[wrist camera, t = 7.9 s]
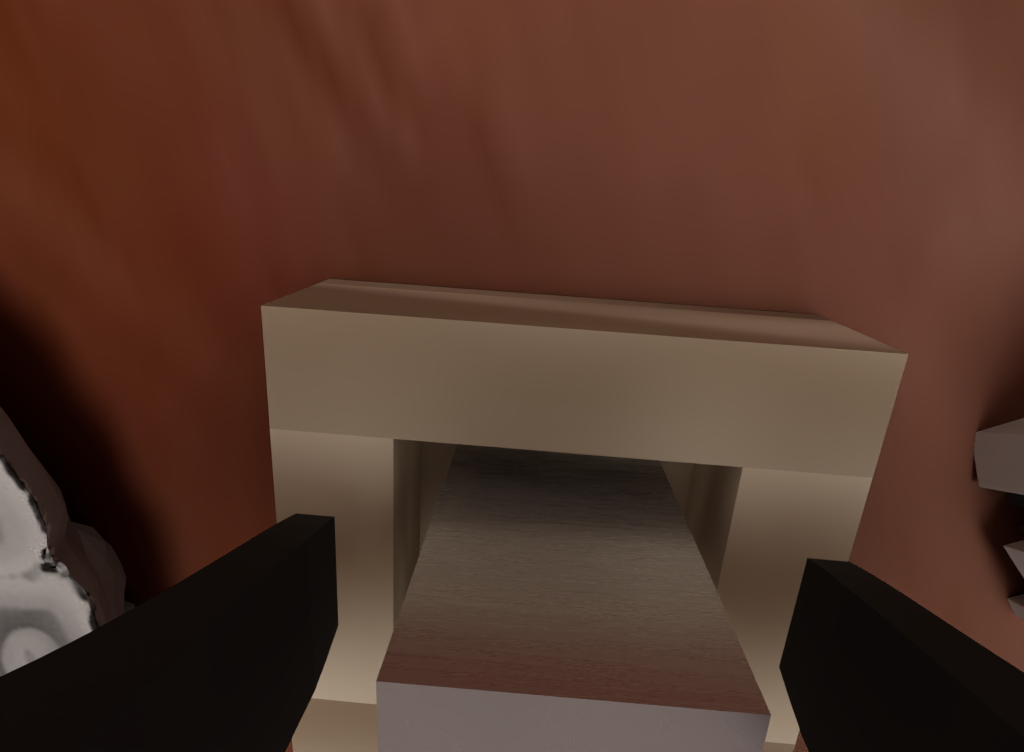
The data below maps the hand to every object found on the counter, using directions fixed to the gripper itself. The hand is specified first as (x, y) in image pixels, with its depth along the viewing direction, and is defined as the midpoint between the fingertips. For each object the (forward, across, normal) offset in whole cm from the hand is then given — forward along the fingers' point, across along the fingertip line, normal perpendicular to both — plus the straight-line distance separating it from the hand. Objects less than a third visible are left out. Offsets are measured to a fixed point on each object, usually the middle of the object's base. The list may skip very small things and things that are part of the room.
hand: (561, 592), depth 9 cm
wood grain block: (+4, 0, +1) cm, 4 cm away
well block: (+4, 0, +1) cm, 4 cm away
